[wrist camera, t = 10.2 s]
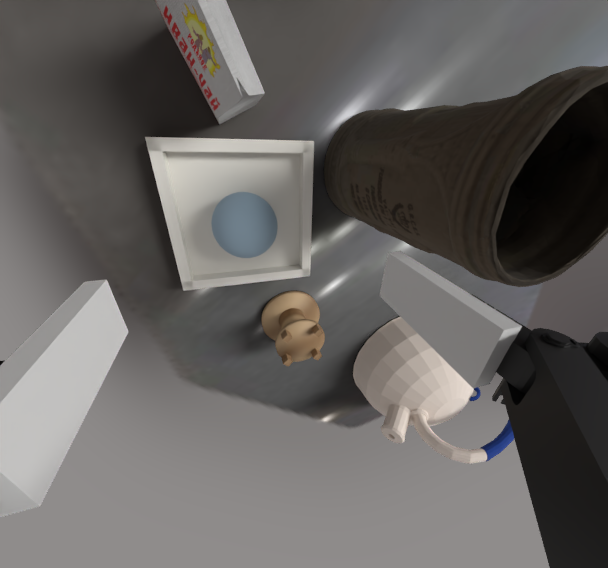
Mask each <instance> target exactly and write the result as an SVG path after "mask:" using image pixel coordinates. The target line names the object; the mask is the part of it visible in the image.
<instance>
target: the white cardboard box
mask: <svg viewBox="0 0 608 568" xmlns="http://www.w3.org/2000/svg"><path fill="white" fill-rule="evenodd" d="M155 1H156V3H157V6H158V8H159V10H160V12H161V14H162V16H163V19H164V21H165V23H166V25H167V27H168V29H169V31H170V33H171V35H172V37H173V38H174V40H175V42H176V44H177V46H178V48H179V50H180V52H181V53H182V55H183V57H184V59H185V61H186V63H187V65H188V67H189V68H190V70H191V72H192V74H193V76H194V78H195V80H196V81H197V83H198V85H199V87H200V89H201V91H202V93H203V95H204V96H205V98H206V100H207V102H208V104H209V106H210V108H211V110H212V111H213V113H214V115H215V117H216V119H217V121H218V123H219V125H220V124H222V123H223V122H225V121H227V120H229V119H231V118H233V117H235V116H237V115H238V114H240V113H242V112H244V111H246V110H248V109H250V108H252V107H253V106H255V105H256V104H257V103H258V102H259V100H260V99H261V98H262V96H263V95H264V94H265V93H264V90H263V88H262V85H261V83H260V81H259V78H258V76H257V73H256V71H255V69H254V66H253V64H252V62H251V59H250V57H249V54H248V52H247V50H246V47H245V45H244V42H243V40H242V38H241V35H240V33H239V30H238V28H237V26H236V23H235V21H234V18H233V16H232V14H231V11H230V9H229V6H228V4H227V2H226V0H155Z"/></svg>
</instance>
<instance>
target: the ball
mask: <svg viewBox="0 0 608 568" xmlns="http://www.w3.org/2000/svg"><path fill="white" fill-rule="evenodd" d="M211 224H212V231H213V235H214V237H215V239H216V241H217V242H218V244H219V245H220V246H221V247H222V248H223V249H224V250H225V251H226V252H228V253H229V254H231V255H234V256H236V257H240V258H252V257H256V256H259V255H261V254H263V253H264V252H266V251H267V250H268V249H269V248H270V247H271V245H272V244H273V242H274V241H275V238H276V235H277V229H278V224H277V218H276V215H275V213H274V211H273V209H272V207H271V206H270V205H269V204H268V202H267V201H265V200H264V199H263V198H261V197H260V196H258V195H256V194H253V193H249V192H237V193H233V194H230V195H228V196H226V197H225V198H223V199H222V200H221V201H220V202H219V203H218V205H217V206H216V208H215V210H214V212H213V215H212V223H211Z"/></svg>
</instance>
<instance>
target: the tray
mask: <svg viewBox="0 0 608 568" xmlns="http://www.w3.org/2000/svg"><path fill="white" fill-rule="evenodd" d="M145 139H146V143H147V147H148V151H149V155H150V159H151V163H152V167H153V171H154V175H155V179H156V183H157V187H158V191H159V195H160V199H161V203H162V207H163V211H164V215H165V219H166V223H167V227H168V231H169V235H170V239H171V243H172V247H173V251H174V255H175V259H176V263H177V267H178V271H179V275H180V279H181V283H182V287H183V291H186V290H194V289H203V288H211V287H220V286H229V285H237V284H246V283H255V282H263V281H272V280H280V279H289V278H298V277H306V276H310V264H311V230H312V195H313V160H314V141H294V140H253V139H212V138H170V137H145ZM237 192H249V193H253V194H256V195H258V196H260V197H261V198H263V199H264V200H265V201H267V202H268V204H269V205H270V206H271V207H272V209H273V211H274V213H275V215H276V218H277V224H278V229H277V235H276V238H275V241H274V242H273V244H272V245H271V247H270V248H269V249H268V250H267V251H266V252H264V253H263V254H261V255H259V256H256V257H252V258H240V257H236V256H234V255H231V254H229V253H228V252H226V251H225V250H224V249H223V248H222V247H221V246H220V245H219V244H218V242H217V241H216V239H215V237H214V235H213V231H212V224H211V223H212V215H213V212H214V210H215V208H216V206H217V205H218V203H219V202H220V201H221V200H222V199H223V198H225V197H226V196H228V195H230V194H233V193H237Z"/></svg>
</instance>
